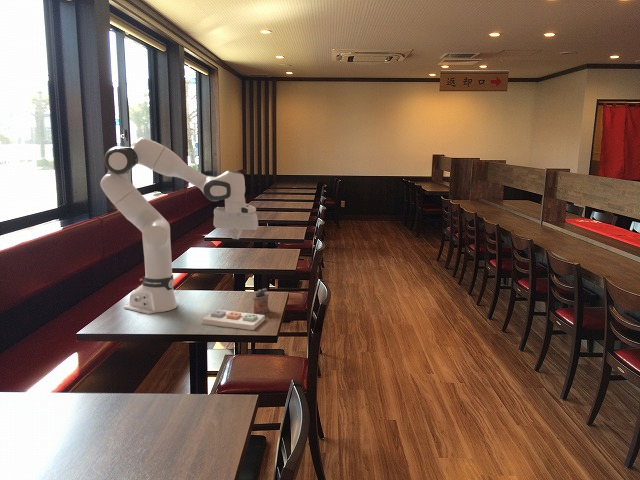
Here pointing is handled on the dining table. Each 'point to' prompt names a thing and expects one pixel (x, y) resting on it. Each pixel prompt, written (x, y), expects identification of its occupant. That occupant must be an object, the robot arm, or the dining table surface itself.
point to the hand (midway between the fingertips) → (235, 238)
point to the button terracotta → (234, 315)
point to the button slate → (218, 313)
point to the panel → (233, 321)
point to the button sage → (250, 317)
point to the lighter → (261, 302)
